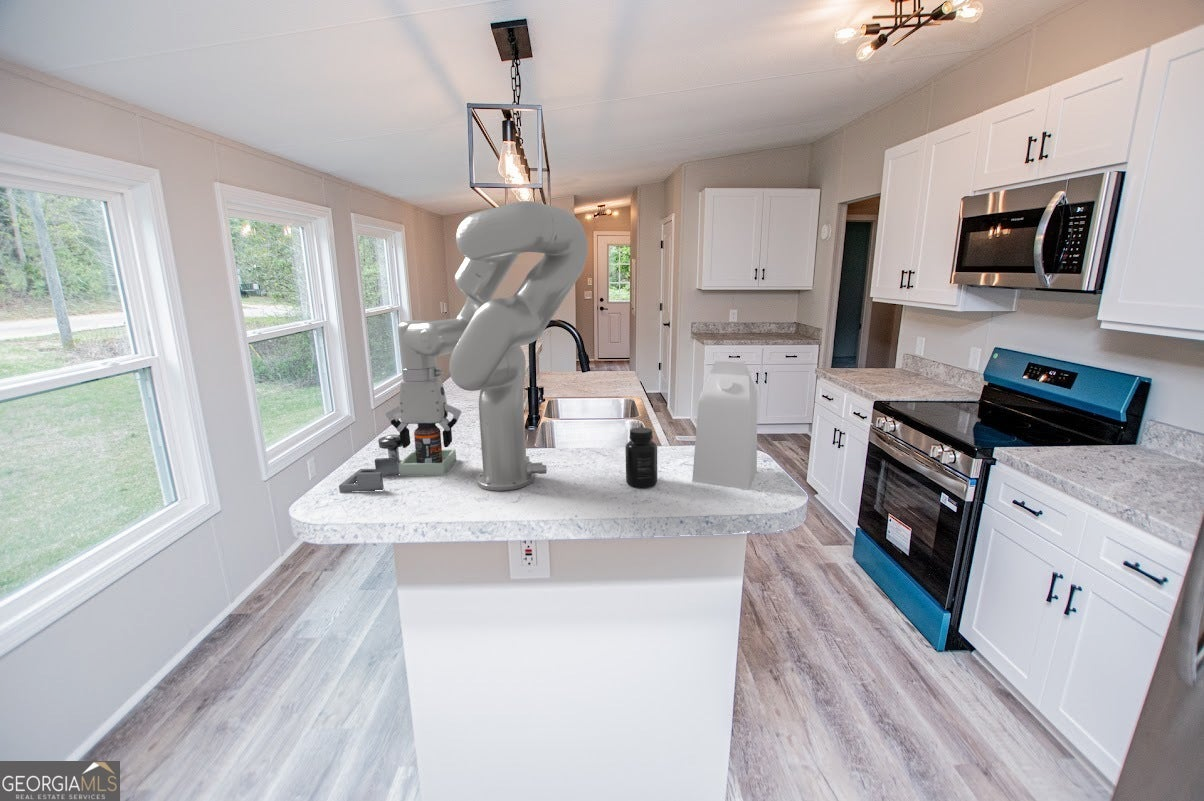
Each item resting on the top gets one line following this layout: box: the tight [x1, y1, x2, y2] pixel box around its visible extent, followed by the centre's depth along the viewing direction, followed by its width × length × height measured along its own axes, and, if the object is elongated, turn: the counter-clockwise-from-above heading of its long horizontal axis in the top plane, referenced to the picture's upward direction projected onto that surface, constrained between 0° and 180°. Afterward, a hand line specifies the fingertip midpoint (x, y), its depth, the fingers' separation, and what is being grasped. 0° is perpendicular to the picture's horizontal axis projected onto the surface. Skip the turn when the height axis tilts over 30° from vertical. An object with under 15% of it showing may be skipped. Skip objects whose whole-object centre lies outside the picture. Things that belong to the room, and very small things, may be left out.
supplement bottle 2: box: [624, 426, 658, 489], centre depth 108 cm, size 7×7×12 cm
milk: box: [691, 359, 758, 491], centre depth 110 cm, size 12×12×26 cm
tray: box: [399, 449, 457, 477], centre depth 121 cm, size 10×10×3 cm
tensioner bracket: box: [338, 457, 400, 493], centre depth 112 cm, size 9×10×4 cm
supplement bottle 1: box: [413, 423, 443, 463], centre depth 120 cm, size 6×6×11 cm
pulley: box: [377, 433, 403, 464], centre depth 122 cm, size 6×6×8 cm
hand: (427, 445), depth 120 cm, fingers open, 9 cm apart
